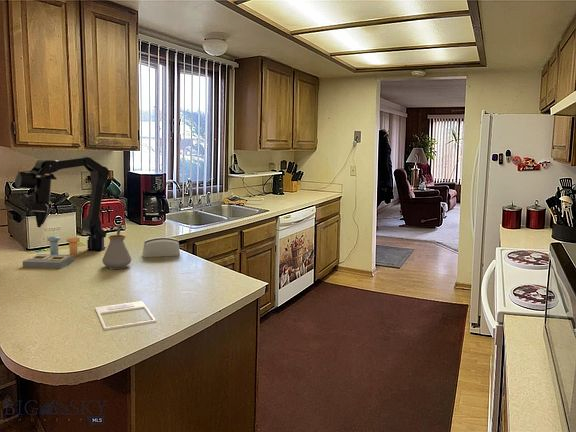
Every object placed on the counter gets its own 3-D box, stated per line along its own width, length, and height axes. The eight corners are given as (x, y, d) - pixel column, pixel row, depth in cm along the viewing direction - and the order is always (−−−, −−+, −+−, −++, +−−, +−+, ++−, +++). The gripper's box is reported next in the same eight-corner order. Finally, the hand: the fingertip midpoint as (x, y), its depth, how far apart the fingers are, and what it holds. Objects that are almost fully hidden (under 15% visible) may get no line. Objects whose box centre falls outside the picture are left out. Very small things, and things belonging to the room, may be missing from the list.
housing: (73, 260, 201) (73, 254, 200) (60, 268, 189) (59, 261, 188) (38, 259, 200) (38, 253, 200) (22, 267, 189) (22, 260, 188)
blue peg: (63, 253, 212) (62, 236, 211) (57, 256, 207) (56, 238, 205) (51, 253, 212) (50, 235, 210) (45, 255, 207) (44, 238, 205)
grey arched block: (179, 252, 222) (179, 234, 217) (180, 258, 218) (181, 240, 213) (142, 254, 216) (142, 235, 212) (142, 260, 212) (142, 241, 208)
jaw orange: (82, 254, 211) (81, 237, 210) (76, 257, 206) (76, 240, 205) (70, 254, 211) (69, 237, 210) (65, 257, 206) (64, 239, 204)
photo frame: (142, 300, 155) (156, 319, 140) (142, 303, 155) (156, 323, 140) (95, 306, 148) (104, 327, 132) (95, 310, 148) (104, 331, 133)
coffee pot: (130, 269, 191) (130, 234, 189) (100, 270, 188) (99, 234, 186) (133, 256, 211) (133, 224, 209) (106, 257, 209) (106, 224, 206)
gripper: (24, 186, 204) (22, 221, 205) (17, 188, 186) (14, 227, 187) (53, 188, 208) (50, 223, 209) (48, 191, 190) (45, 229, 192)
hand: (40, 225), depth 199 cm, fingers open, 9 cm apart
